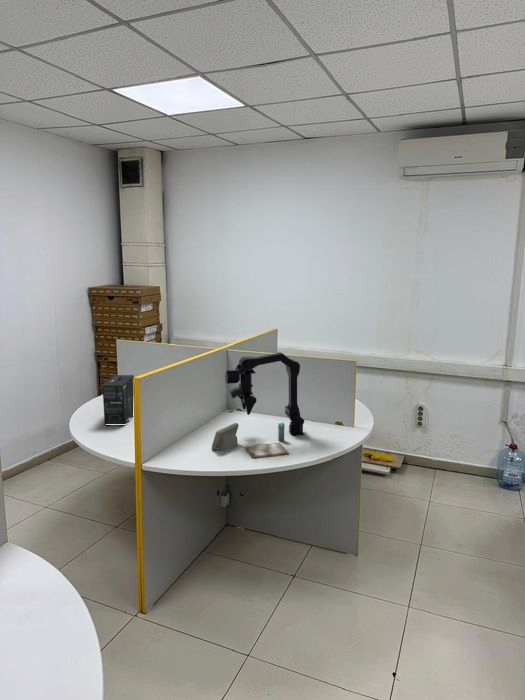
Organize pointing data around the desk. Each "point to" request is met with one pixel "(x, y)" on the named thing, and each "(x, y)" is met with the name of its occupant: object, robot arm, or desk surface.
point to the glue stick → (281, 432)
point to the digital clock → (225, 438)
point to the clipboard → (266, 450)
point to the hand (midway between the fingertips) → (246, 411)
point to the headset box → (118, 399)
